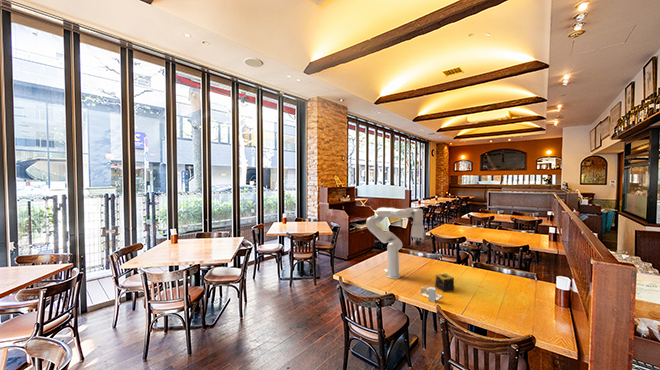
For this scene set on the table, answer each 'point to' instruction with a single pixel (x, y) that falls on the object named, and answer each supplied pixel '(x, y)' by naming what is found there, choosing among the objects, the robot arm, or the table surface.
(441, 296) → the mat
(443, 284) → the candle
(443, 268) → the table surface
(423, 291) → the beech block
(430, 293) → the bluegrey block
